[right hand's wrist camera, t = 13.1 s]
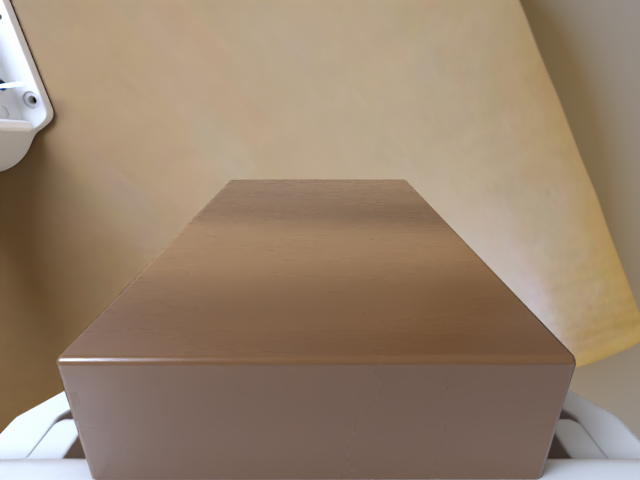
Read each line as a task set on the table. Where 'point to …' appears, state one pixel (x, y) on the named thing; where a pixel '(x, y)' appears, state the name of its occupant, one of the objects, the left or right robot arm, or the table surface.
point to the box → (316, 349)
